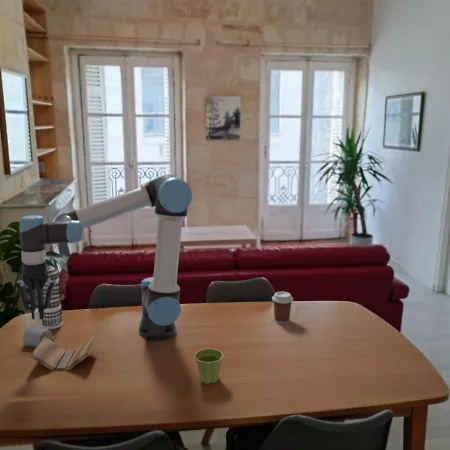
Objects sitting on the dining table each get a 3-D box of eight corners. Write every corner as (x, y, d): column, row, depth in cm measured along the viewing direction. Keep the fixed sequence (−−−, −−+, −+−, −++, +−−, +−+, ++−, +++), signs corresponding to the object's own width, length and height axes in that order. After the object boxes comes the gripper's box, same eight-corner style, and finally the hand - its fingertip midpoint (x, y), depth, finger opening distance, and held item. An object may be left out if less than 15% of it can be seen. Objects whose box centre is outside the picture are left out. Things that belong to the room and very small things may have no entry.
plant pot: (213, 390, 142) (213, 365, 140) (189, 381, 147) (188, 357, 145) (228, 377, 150) (228, 353, 148) (205, 369, 155) (205, 346, 153)
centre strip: (75, 353, 165) (74, 349, 165) (65, 372, 152) (64, 367, 152) (67, 353, 165) (67, 350, 164) (56, 372, 152) (56, 368, 152)
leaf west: (97, 337, 164) (94, 335, 164) (89, 355, 152) (86, 352, 151) (78, 352, 165) (76, 349, 165) (68, 370, 152) (65, 367, 152)
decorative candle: (68, 323, 192) (64, 267, 187) (50, 331, 184) (45, 272, 179) (54, 318, 197) (50, 263, 192) (36, 326, 189) (31, 269, 184)
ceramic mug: (41, 352, 167) (40, 333, 165) (23, 349, 169) (21, 330, 167) (59, 340, 177) (58, 322, 175) (41, 337, 179) (40, 319, 177)
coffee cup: (267, 321, 194) (268, 295, 192) (276, 314, 202) (277, 289, 199) (287, 326, 189) (288, 299, 187) (295, 319, 197) (296, 293, 195)
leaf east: (63, 352, 165) (65, 350, 164) (52, 371, 152) (55, 368, 152) (42, 339, 163) (44, 336, 163) (29, 356, 150) (32, 353, 150)
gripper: (57, 258, 155) (61, 323, 159) (18, 258, 154) (23, 323, 158) (50, 264, 147) (54, 332, 152) (9, 265, 147) (15, 332, 151)
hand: (38, 327), depth 155 cm, fingers closed
